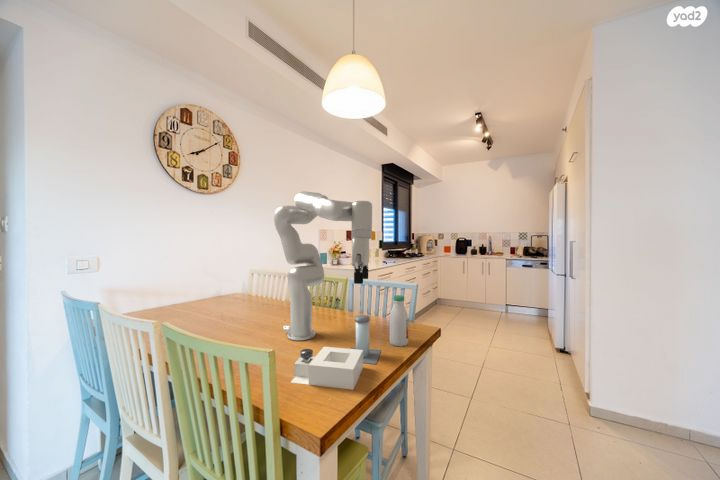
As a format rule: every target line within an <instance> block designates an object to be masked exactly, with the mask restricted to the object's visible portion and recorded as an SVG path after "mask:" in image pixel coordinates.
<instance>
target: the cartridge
mask: <svg viewBox="0 0 720 480" xmlns="http://www.w3.org/2000/svg"><path fill="white" fill-rule="evenodd" d="M370 321H371V319H370V316H369V315H368V314H367V315H366V314H359V315H356V316H354V322H355V348H356V349H357V350H363V358H366V357H369V349H370Z"/></svg>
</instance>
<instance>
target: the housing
mask: <svg viewBox="0 0 720 480" xmlns="http://www.w3.org/2000/svg"><path fill="white" fill-rule="evenodd" d="M293 366H294V367H293V371H294V373H293V374H294V377H293V378H292V379H291V381H290V382H289V383H291V384H292V383H293V384H299V385H310V386H318V387H326V388H335V389H345V390H352V391H353V390H354V389H355V388H356V387H355V386H356V385H357V383H358V381H359V378H360V375H361V374H362V371H363V369H364V363H363V350H357V349H350V348H344V347H343V348H342V347H333V346H332V347H331V346H322V348H321V349H320V351H319V352H318V353H317V354H315V356H312V357H311V358H310V362H309V363H307V362H304V358H301V357H299V358H298V359H297V360H296V361H295V362H294V364H293Z"/></svg>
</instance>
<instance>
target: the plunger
mask: <svg viewBox="0 0 720 480" xmlns="http://www.w3.org/2000/svg"><path fill="white" fill-rule="evenodd" d="M299 353H300V354H299V355H300V357H301V358H304V362H307V363H309V362H310V358H311V357H314V353H313V349H311V348H304V349H301V350H300V352H299ZM300 357H299V358H300Z"/></svg>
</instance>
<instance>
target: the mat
mask: <svg viewBox="0 0 720 480" xmlns="http://www.w3.org/2000/svg"><path fill="white" fill-rule="evenodd" d="M349 349H356V347H350V348H349ZM381 353H382V349H377V348H375V349H373V348H369V357H366V358H363V365H364V364H366V365H374V366H375V365H377V363H378V360H379V357H380V354H381Z"/></svg>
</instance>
